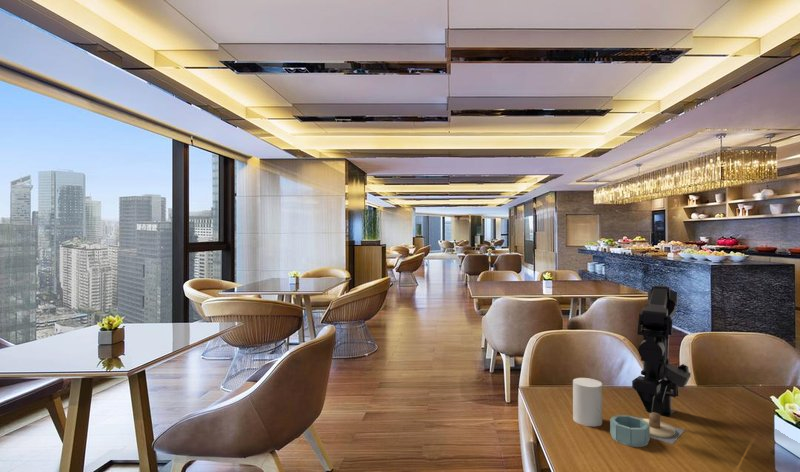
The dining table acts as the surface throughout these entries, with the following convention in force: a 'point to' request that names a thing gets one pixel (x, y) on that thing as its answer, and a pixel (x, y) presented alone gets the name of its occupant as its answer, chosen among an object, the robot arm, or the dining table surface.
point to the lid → (659, 426)
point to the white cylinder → (587, 402)
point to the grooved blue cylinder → (630, 430)
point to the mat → (671, 439)
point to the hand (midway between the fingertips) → (654, 407)
